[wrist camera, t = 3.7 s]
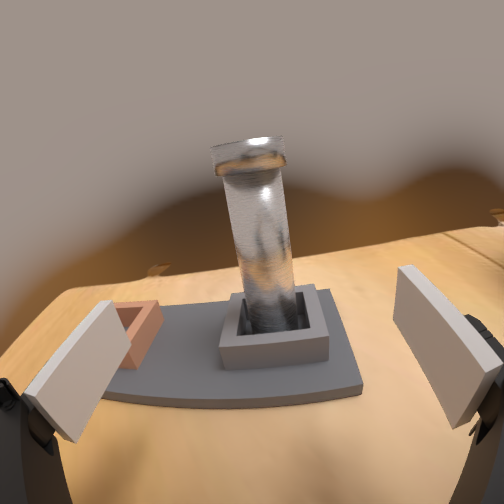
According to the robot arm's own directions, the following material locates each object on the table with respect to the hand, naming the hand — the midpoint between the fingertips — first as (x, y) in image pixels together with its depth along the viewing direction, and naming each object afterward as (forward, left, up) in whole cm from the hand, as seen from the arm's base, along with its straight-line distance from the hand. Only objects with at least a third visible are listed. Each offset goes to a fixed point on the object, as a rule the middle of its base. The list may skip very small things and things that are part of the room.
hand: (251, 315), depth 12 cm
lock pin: (0, -10, -9) cm, 13 cm away
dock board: (+8, -10, -10) cm, 16 cm away
